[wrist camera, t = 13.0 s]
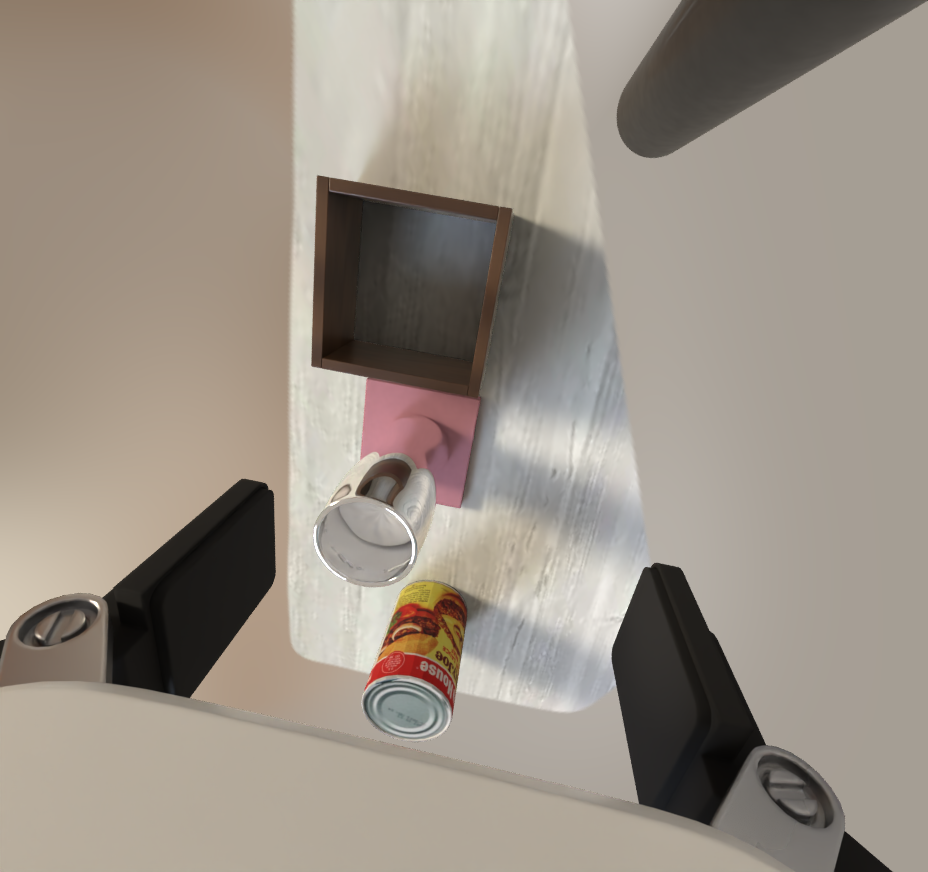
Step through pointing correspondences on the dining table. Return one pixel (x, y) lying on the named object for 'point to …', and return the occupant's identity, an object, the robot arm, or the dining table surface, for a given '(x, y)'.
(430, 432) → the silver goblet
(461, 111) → the dining table surface
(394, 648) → the canned food
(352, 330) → the brown wooden box
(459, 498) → the mat
